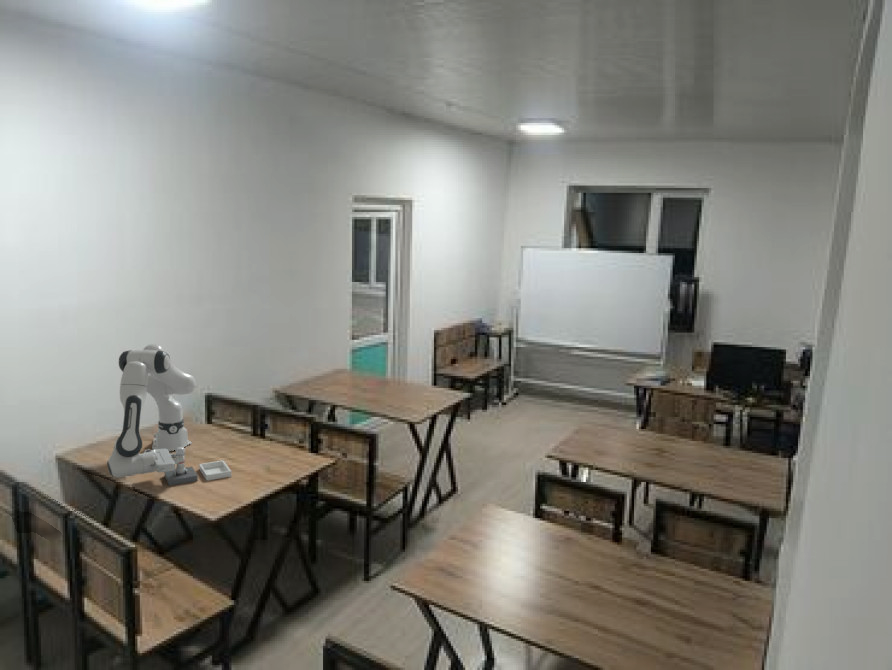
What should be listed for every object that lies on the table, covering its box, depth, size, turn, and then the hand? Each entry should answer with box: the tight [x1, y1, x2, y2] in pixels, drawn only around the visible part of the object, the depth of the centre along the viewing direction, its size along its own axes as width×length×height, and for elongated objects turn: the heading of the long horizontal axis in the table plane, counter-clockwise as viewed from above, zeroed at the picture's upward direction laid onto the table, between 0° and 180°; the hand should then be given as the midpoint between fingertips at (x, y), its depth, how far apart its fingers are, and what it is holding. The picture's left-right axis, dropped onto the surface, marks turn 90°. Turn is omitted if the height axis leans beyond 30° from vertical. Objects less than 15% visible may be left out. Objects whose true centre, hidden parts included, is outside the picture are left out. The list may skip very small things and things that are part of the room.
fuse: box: [175, 447, 186, 475], centre depth 294 cm, size 4×4×12 cm
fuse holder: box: [163, 466, 199, 487], centre depth 295 cm, size 12×12×5 cm
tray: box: [198, 460, 232, 482], centre depth 303 cm, size 15×11×4 cm
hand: (182, 457), depth 294 cm, fingers closed on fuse, 3 cm apart
